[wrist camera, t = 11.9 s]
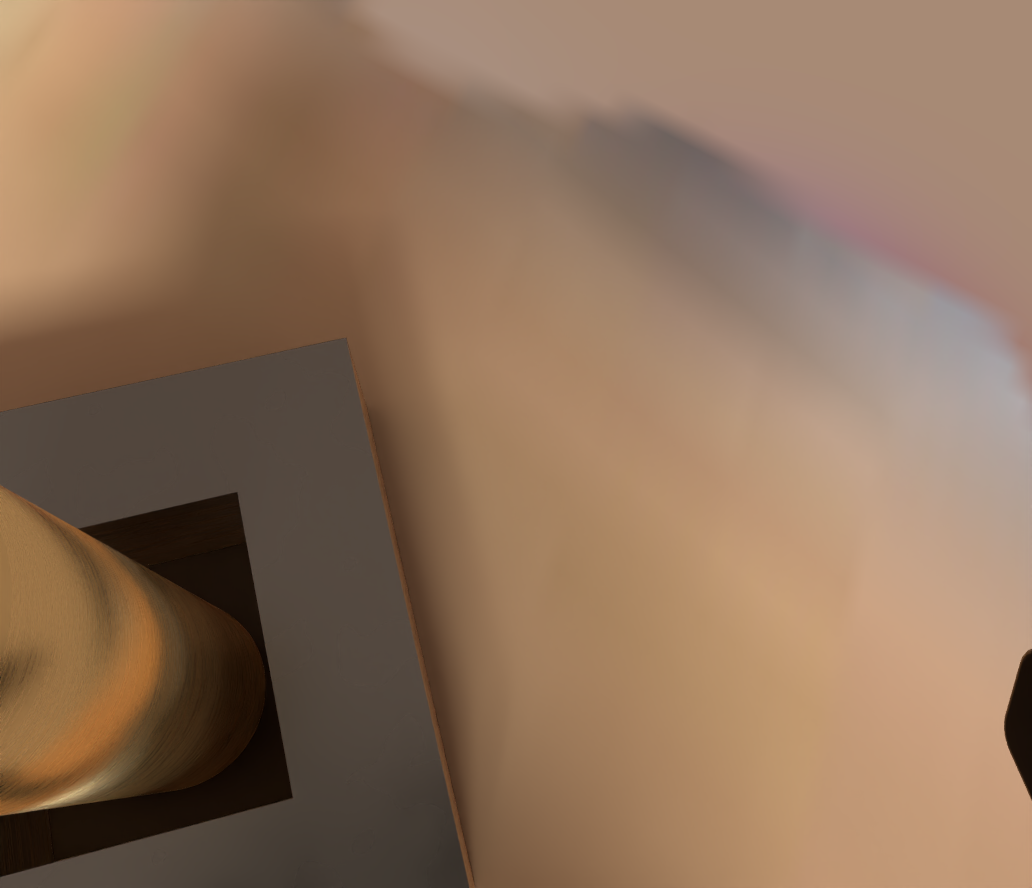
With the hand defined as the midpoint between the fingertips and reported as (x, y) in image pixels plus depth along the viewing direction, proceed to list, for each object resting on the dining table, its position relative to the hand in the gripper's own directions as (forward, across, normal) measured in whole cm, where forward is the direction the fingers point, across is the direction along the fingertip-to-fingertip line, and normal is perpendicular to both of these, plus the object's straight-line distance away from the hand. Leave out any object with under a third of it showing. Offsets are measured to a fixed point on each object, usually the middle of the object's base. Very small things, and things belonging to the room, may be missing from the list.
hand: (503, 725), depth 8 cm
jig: (+11, +7, +8) cm, 15 cm away
